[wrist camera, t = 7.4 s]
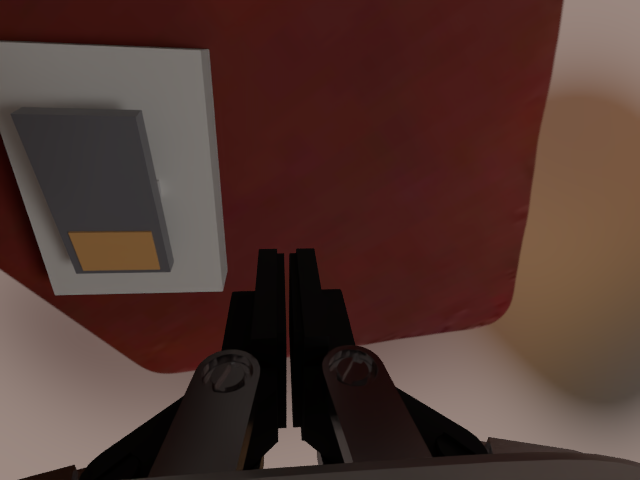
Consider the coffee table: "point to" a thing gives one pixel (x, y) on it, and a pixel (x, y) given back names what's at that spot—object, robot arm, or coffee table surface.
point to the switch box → (164, 141)
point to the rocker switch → (98, 186)
